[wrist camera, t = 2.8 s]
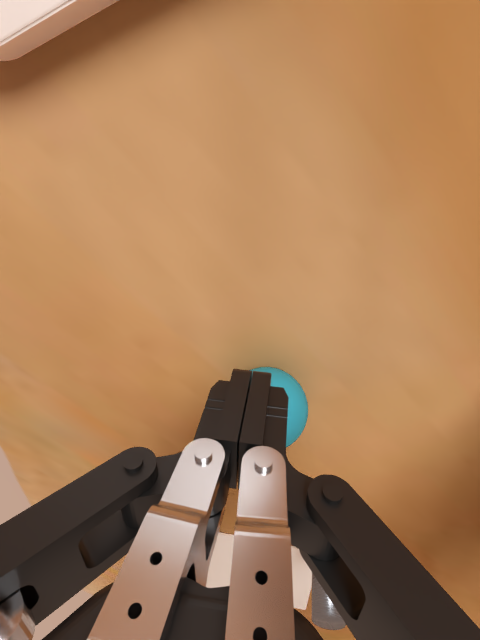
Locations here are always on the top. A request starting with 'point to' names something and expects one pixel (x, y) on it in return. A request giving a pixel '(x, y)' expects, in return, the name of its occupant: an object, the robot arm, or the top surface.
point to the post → (324, 609)
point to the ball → (290, 401)
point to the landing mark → (223, 562)
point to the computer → (40, 22)
